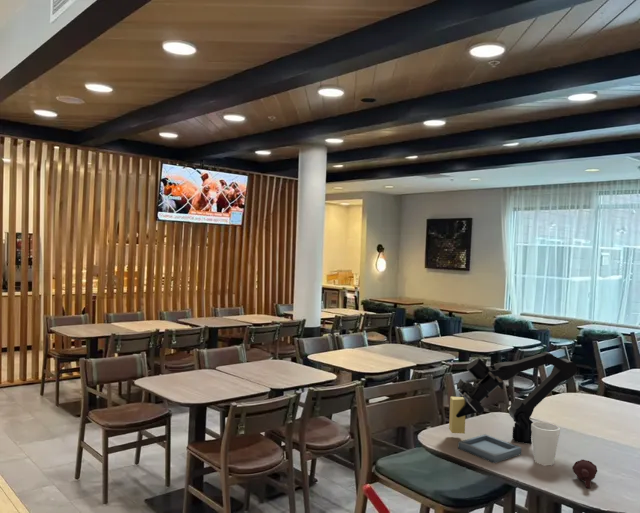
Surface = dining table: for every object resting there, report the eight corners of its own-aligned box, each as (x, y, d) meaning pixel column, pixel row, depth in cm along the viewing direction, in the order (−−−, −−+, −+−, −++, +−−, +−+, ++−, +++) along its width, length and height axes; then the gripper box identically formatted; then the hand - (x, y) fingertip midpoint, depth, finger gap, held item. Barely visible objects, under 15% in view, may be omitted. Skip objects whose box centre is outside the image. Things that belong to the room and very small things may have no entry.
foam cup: (561, 469, 185) (562, 431, 185) (532, 466, 187) (534, 429, 187) (554, 458, 194) (556, 423, 194) (527, 455, 196) (529, 420, 196)
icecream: (569, 451, 185) (571, 471, 172) (593, 449, 182) (596, 469, 169) (574, 470, 185) (576, 492, 172) (597, 469, 182) (601, 491, 169)
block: (461, 429, 215) (462, 397, 214) (464, 433, 210) (465, 400, 209) (449, 428, 215) (450, 396, 214) (451, 433, 210) (453, 400, 209)
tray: (485, 440, 210) (485, 434, 210) (521, 454, 197) (521, 447, 197) (458, 448, 201) (458, 441, 201) (494, 463, 188) (494, 456, 188)
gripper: (464, 367, 221) (436, 393, 221) (476, 379, 202) (446, 406, 203) (482, 387, 221) (455, 412, 221) (496, 400, 202) (466, 428, 203)
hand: (455, 414), depth 212 cm, fingers closed on block, 5 cm apart
